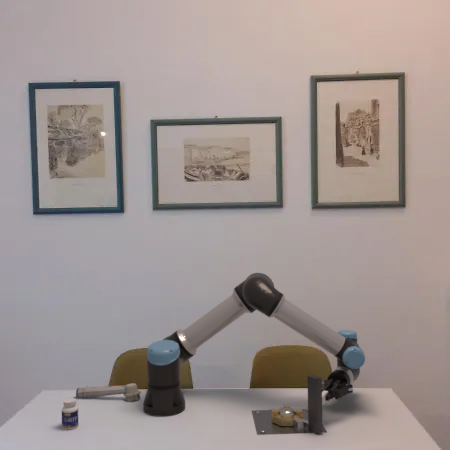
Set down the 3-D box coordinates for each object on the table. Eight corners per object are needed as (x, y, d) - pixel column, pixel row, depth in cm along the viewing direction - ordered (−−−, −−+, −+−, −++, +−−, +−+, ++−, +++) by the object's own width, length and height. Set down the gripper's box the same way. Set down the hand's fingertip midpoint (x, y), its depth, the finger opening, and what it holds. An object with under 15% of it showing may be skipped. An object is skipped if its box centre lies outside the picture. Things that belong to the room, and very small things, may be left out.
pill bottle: (63, 431, 162) (62, 404, 162) (60, 425, 167) (60, 399, 167) (80, 428, 165) (79, 401, 165) (76, 422, 170) (76, 396, 170)
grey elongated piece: (80, 385, 197) (140, 379, 193) (83, 402, 197) (143, 396, 193) (74, 389, 192) (135, 383, 188) (77, 407, 192) (138, 401, 188)
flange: (257, 440, 153) (257, 425, 153) (251, 413, 175) (251, 400, 175) (328, 438, 154) (328, 423, 154) (313, 411, 176) (313, 398, 176)
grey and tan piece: (265, 419, 166) (264, 368, 166) (286, 411, 173) (285, 362, 172) (309, 437, 152) (308, 381, 151) (330, 428, 158) (329, 375, 158)
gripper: (358, 393, 176) (340, 416, 156) (322, 387, 183) (300, 409, 162) (358, 371, 176) (340, 392, 156) (322, 367, 183) (300, 386, 162)
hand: (320, 401), depth 159 cm, fingers closed
